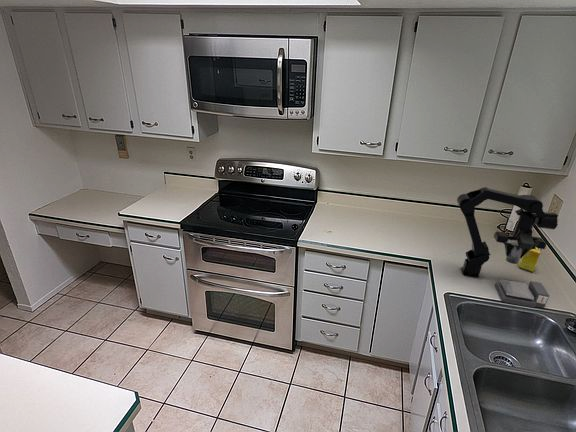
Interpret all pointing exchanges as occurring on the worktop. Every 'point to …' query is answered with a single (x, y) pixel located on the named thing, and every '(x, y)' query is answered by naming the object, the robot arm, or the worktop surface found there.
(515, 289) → the pan
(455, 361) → the worktop surface
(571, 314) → the worktop surface
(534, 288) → the dark grey u-shaped piece
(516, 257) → the cylinder
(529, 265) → the supplement box
